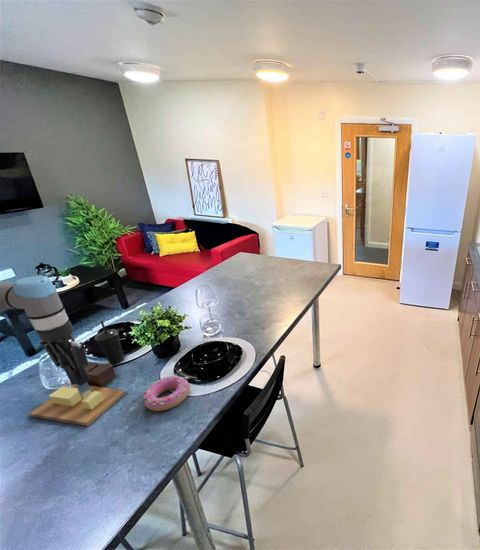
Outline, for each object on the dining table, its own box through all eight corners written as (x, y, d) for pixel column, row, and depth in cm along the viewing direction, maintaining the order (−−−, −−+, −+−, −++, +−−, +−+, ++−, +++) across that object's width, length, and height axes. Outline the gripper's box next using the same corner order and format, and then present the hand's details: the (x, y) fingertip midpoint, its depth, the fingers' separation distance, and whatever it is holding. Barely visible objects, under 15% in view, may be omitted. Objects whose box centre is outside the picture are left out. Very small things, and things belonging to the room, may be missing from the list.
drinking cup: (128, 352, 129) (114, 314, 121) (127, 362, 124) (113, 323, 115) (106, 358, 125) (90, 319, 117) (104, 369, 120) (87, 329, 111)
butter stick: (52, 403, 102) (48, 395, 100) (66, 393, 106) (62, 385, 104) (72, 406, 101) (68, 399, 99) (85, 396, 105) (82, 389, 104)
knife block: (79, 384, 112) (73, 372, 109) (94, 373, 117) (89, 361, 115) (102, 387, 111) (96, 375, 108) (116, 376, 116) (111, 364, 114)
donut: (170, 379, 116) (167, 370, 114) (199, 388, 112) (196, 378, 110) (135, 407, 103) (130, 397, 101) (166, 418, 100) (163, 408, 98)
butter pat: (84, 408, 100) (81, 401, 99) (97, 398, 105) (94, 390, 103) (91, 409, 100) (87, 402, 99) (104, 399, 104) (100, 391, 103)
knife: (83, 405, 101) (63, 365, 94) (91, 398, 104) (73, 359, 96) (89, 406, 101) (69, 366, 93) (97, 399, 104) (79, 360, 96)
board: (31, 416, 98) (29, 413, 98) (74, 385, 111) (72, 382, 111) (87, 426, 96) (86, 422, 95) (125, 393, 109) (124, 390, 108)
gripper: (86, 320, 91) (110, 377, 101) (45, 315, 93) (72, 371, 103) (61, 334, 84) (89, 393, 94) (16, 328, 86) (48, 387, 96)
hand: (80, 382), depth 98 cm, fingers closed on knife, 2 cm apart
